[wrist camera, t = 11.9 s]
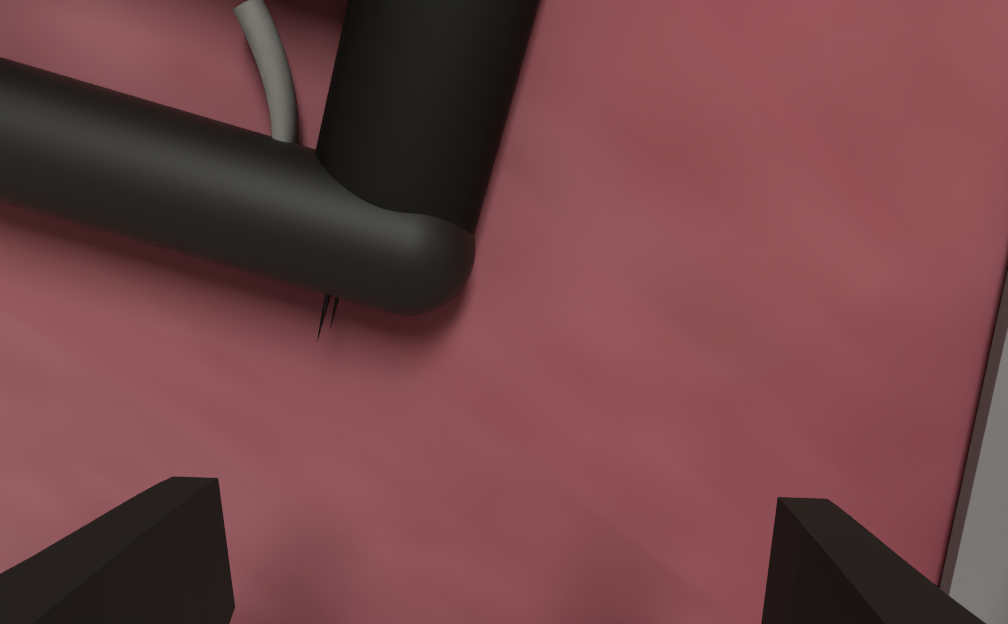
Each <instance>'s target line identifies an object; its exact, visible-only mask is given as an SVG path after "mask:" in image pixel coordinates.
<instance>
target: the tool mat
mask: <svg viewBox="0 0 1008 624" xmlns="http://www.w3.org/2000/svg"><path fill="white" fill-rule="evenodd" d="M940 589H941V590H942V591H944V592H945V593H946V594H948V595H949V596H950V597H951V598H953V599H954V600H955V601H957V602H958V603H959V604H961V605H962V606H963V607H965V608H966V609H967V610H969V611H970V612H971V613H973V614H974V615H975V616H977V617H978V618H979V619H981V620H982V621H983V622H985V623H986V624H1008V271H1007V276H1006V280H1005V285H1004V290H1003V294H1002V299H1001V304H1000V308H999V313H998V318H997V322H996V327H995V332H994V336H993V341H992V346H991V350H990V355H989V360H988V364H987V369H986V374H985V378H984V383H983V388H982V392H981V397H980V402H979V406H978V411H977V416H976V420H975V425H974V430H973V434H972V439H971V444H970V448H969V453H968V458H967V462H966V467H965V472H964V476H963V481H962V486H961V491H960V495H959V500H958V505H957V509H956V514H955V519H954V523H953V528H952V533H951V537H950V542H949V547H948V551H947V556H946V561H945V565H944V570H943V575H942V579H941V584H940Z"/></svg>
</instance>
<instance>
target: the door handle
mask: <svg viewBox="0 0 1008 624" xmlns="http://www.w3.org/2000/svg"><path fill="white" fill-rule="evenodd" d="M539 1H540V0H348V4H347V9H346V13H345V18H344V23H343V27H342V32H341V36H340V41H339V46H338V50H337V55H336V59H335V64H334V69H333V73H332V78H331V82H330V87H329V92H328V96H327V101H326V105H325V110H324V115H323V119H322V124H321V129H320V133H319V138H318V142H317V147H316V150H315V149H312V148H309V147H305V146H302V145H298V144H297V137H298V112H297V102H296V95H295V89H294V84H293V79H292V75H291V71H290V67H289V63H288V60H287V57H286V53H285V50H284V47H283V45H282V42H281V39H280V36H279V34H278V31H277V29H276V26H275V24H274V22H273V19H272V17H271V15H270V13H269V11H268V9H267V6H266V4H265V2H264V0H248V1H246V2H244V3H242V4H240V5H238V6H237V7H236V8H234V9H233V12H234V14H235V16H236V18H237V20H238V22H239V24H240V26H241V28H242V30H243V32H244V34H245V36H246V39H247V41H248V43H249V46H250V48H251V50H252V53H253V55H254V58H255V61H256V63H257V66H258V69H259V72H260V75H261V78H262V82H263V85H264V89H265V93H266V97H267V101H268V106H269V112H270V119H271V133H272V137H271V136H268V135H264V134H261V133H257V132H254V131H251V130H247V129H244V128H240V127H237V126H233V125H230V124H227V123H223V122H220V121H216V120H213V119H210V118H206V117H203V116H199V115H196V114H193V113H189V112H186V111H182V110H179V109H175V108H172V107H169V106H165V105H162V104H158V103H155V102H152V101H148V100H145V99H141V98H138V97H135V96H131V95H128V94H124V93H121V92H117V91H114V90H111V89H107V88H104V87H100V86H97V85H94V84H90V83H87V82H83V81H80V80H77V79H73V78H70V77H66V76H63V75H59V74H56V73H53V72H49V71H46V70H42V69H39V68H36V67H32V66H29V65H25V64H22V63H19V62H15V61H12V60H8V59H5V58H1V57H0V201H2V202H5V203H9V204H12V205H16V206H19V207H23V208H26V209H30V210H33V211H37V212H40V213H44V214H47V215H50V216H54V217H57V218H61V219H64V220H68V221H71V222H75V223H78V224H82V225H85V226H89V227H92V228H96V229H99V230H103V231H106V232H110V233H113V234H117V235H120V236H124V237H127V238H131V239H134V240H138V241H141V242H145V243H148V244H152V245H155V246H159V247H162V248H166V249H169V250H173V251H176V252H180V253H183V254H187V255H190V256H194V257H197V258H201V259H204V260H208V261H211V262H214V263H218V264H221V265H225V266H228V267H232V268H235V269H239V270H242V271H246V272H249V273H253V274H256V275H260V276H263V277H267V278H270V279H274V280H277V281H281V282H284V283H288V284H291V285H295V286H298V287H302V288H305V289H309V290H312V291H316V292H319V293H323V294H325V298H324V303H323V309H322V315H321V321H320V327H319V333H318V338H319V334H320V331H321V327H322V324H323V321H324V317H325V314H326V311H327V307H328V304H329V301H330V297H331V296H333V297H336V298H335V303H334V309H333V315H332V321H333V318H334V315H335V311H336V308H337V304H338V301H339V298H340V299H344V300H347V301H351V302H354V303H358V304H361V305H365V306H368V307H372V308H375V309H379V310H382V311H385V312H389V313H393V314H399V315H417V314H422V313H426V312H430V311H432V310H435V309H437V308H439V307H441V306H443V305H444V304H446V303H447V302H449V301H450V300H451V299H452V298H453V297H454V296H456V294H457V293H458V292H459V291H460V290H461V289H462V287H463V286H464V284H465V283H466V281H467V279H468V277H469V275H470V273H471V270H472V267H473V264H474V259H475V237H474V232H475V228H476V225H477V221H478V218H479V214H480V210H481V207H482V203H483V200H484V196H485V193H486V189H487V186H488V182H489V178H490V175H491V171H492V168H493V164H494V161H495V157H496V154H497V150H498V146H499V143H500V139H501V136H502V132H503V129H504V125H505V122H506V118H507V114H508V111H509V107H510V104H511V100H512V97H513V93H514V90H515V86H516V82H517V79H518V75H519V72H520V68H521V65H522V61H523V57H524V54H525V50H526V47H527V43H528V40H529V36H530V33H531V29H532V25H533V22H534V18H535V15H536V11H537V8H538V4H539ZM332 321H331V325H332ZM330 328H331V327H330ZM317 341H318V339H317Z"/></svg>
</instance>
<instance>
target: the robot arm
mask: <svg viewBox="0 0 1008 624" xmlns="http://www.w3.org/2000/svg"><path fill="white" fill-rule="evenodd" d="M234 609H235V603H234V596H233V588H232V581H231V573H230V565H229V558H228V550H227V542H226V535H225V527H224V520H223V512H222V504H221V497H220V489H219V481H218V478H200V477H171V478H169V479H167V480H165V481H162V482H160V483H158V484H156V485H154V486H153V487H151V488H149V489H147V490H145V491H143V492H142V493H140V494H138V495H136V496H135V497H133V498H131V499H129V500H128V501H126V502H124V503H122V504H121V505H119V506H117V507H116V508H114V509H112V510H110V511H109V512H107V513H105V514H104V515H102V516H100V517H99V518H97V519H95V520H94V521H92V522H90V523H89V524H87V525H85V526H83V527H82V528H80V529H78V530H77V531H75V532H73V533H71V534H70V535H68V536H66V537H65V538H63V539H61V540H60V541H58V542H56V543H54V544H53V545H51V546H49V547H48V548H46V549H44V550H42V551H41V552H39V553H37V554H36V555H34V556H32V557H30V558H29V559H27V560H25V561H23V562H21V563H19V564H17V565H16V566H14V567H12V568H10V569H8V570H6V571H5V572H3V573H1V574H0V624H229V623H230V620H231V617H232V614H233V611H234ZM761 624H986V623H985V622H983V621H982V620H981V619H979V618H978V617H977V616H975V615H974V614H973V613H971V612H970V611H969V610H967V609H966V608H965V607H963V606H962V605H961V604H959V603H958V602H957V601H955V600H954V599H953V598H951V597H950V596H949V595H948V594H946V593H945V592H944V591H942V590H941V589H940V588H939V587H937V586H936V585H935V584H933V583H932V582H931V581H930V580H928V579H927V578H926V577H925V576H923V575H922V574H921V573H920V572H918V571H917V570H916V569H915V568H913V567H912V566H911V565H910V564H908V563H907V562H906V561H905V560H903V559H902V558H901V557H900V556H898V555H897V554H896V553H895V552H894V551H892V550H891V549H890V548H889V547H887V546H886V545H885V544H884V543H883V542H881V541H880V540H879V539H878V538H876V537H875V536H874V535H873V534H872V533H870V532H869V531H868V530H867V529H866V528H864V527H863V526H862V525H861V524H859V523H858V522H857V521H856V520H854V519H853V518H852V517H851V516H849V515H848V514H847V513H846V512H844V511H843V510H842V509H841V508H839V507H838V506H837V505H835V504H834V503H832V502H831V501H830V500H828V499H816V498H787V497H778V500H777V507H776V515H775V523H774V530H773V538H772V546H771V554H770V561H769V569H768V577H767V585H766V592H765V600H764V608H763V616H762V623H761Z"/></svg>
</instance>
